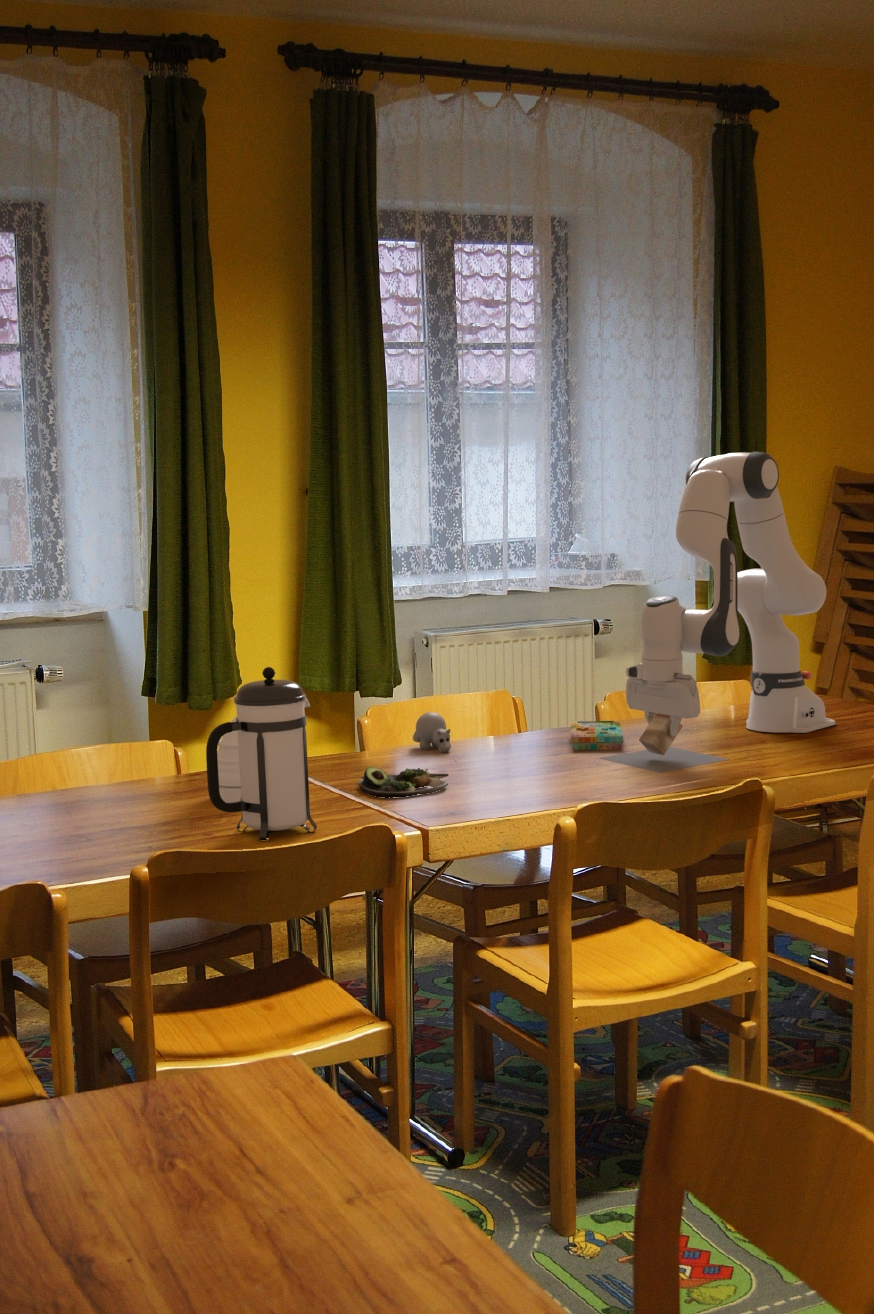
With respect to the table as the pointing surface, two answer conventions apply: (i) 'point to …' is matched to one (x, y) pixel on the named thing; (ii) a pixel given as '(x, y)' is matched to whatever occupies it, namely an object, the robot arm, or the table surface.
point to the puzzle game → (596, 735)
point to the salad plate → (400, 782)
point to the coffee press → (267, 756)
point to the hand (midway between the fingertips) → (663, 733)
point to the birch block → (658, 734)
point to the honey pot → (229, 767)
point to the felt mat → (664, 759)
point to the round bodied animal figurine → (432, 732)
